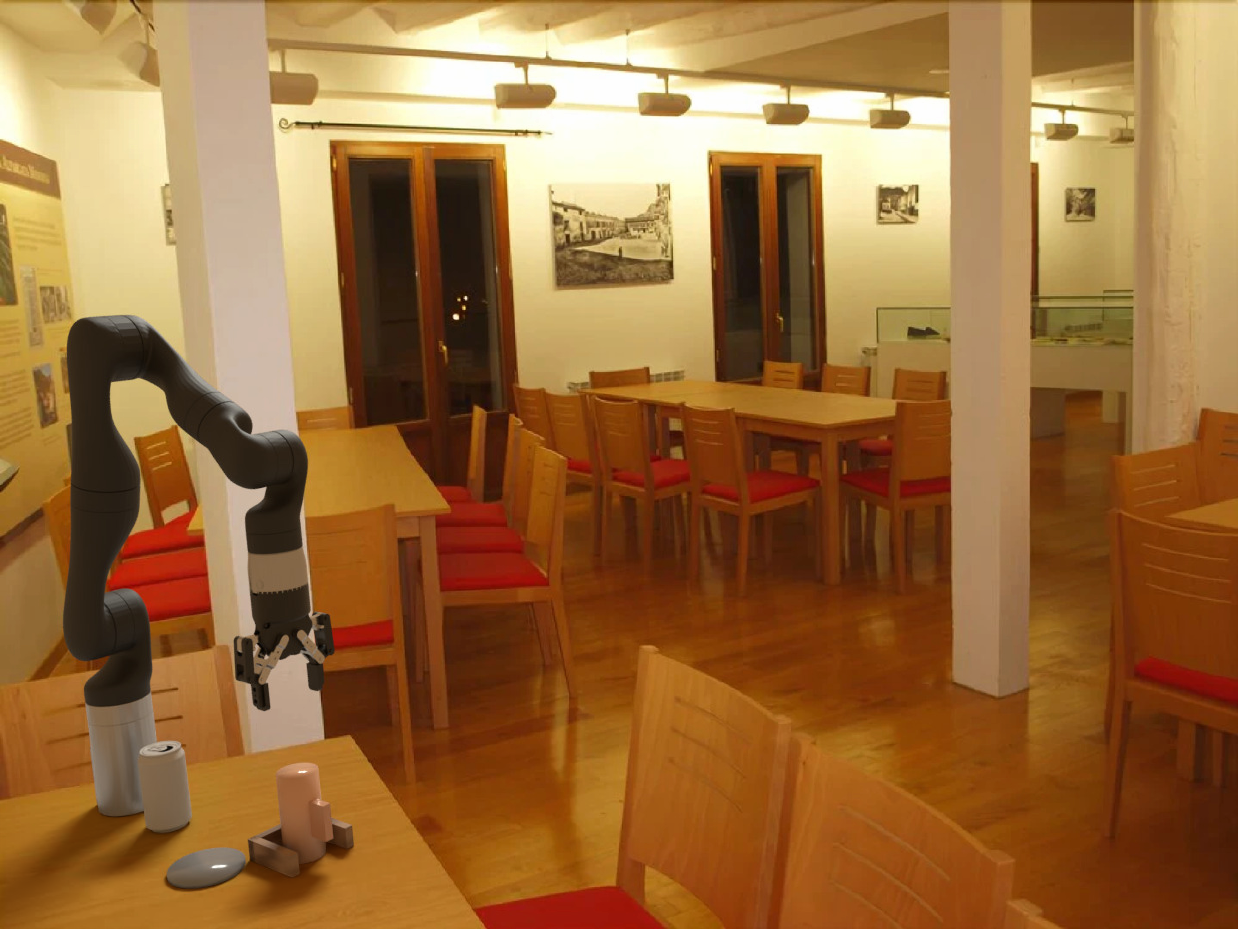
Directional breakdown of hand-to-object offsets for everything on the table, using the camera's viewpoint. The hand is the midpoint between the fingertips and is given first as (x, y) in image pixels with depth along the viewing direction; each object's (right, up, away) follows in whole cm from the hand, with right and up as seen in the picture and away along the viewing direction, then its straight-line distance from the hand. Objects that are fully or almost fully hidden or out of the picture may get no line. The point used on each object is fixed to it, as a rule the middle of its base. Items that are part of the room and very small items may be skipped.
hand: (290, 699), depth 155 cm
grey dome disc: (-11, -23, 0) cm, 26 cm away
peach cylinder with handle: (+2, -22, +2) cm, 22 cm away
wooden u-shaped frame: (+1, -22, +3) cm, 22 cm away
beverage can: (-22, -22, +14) cm, 34 cm away
